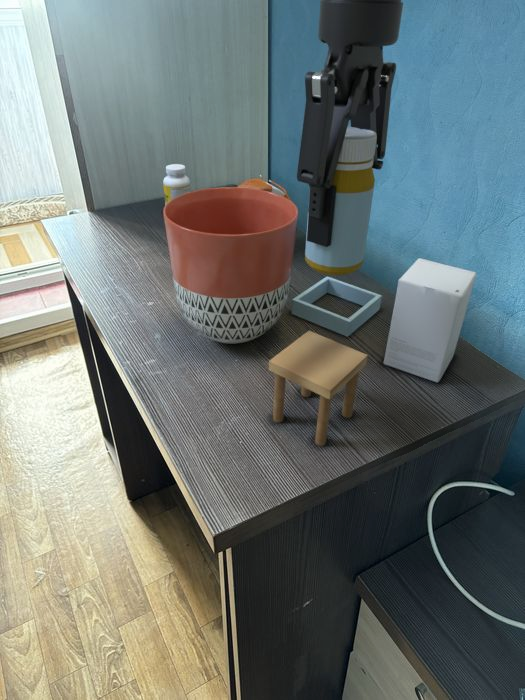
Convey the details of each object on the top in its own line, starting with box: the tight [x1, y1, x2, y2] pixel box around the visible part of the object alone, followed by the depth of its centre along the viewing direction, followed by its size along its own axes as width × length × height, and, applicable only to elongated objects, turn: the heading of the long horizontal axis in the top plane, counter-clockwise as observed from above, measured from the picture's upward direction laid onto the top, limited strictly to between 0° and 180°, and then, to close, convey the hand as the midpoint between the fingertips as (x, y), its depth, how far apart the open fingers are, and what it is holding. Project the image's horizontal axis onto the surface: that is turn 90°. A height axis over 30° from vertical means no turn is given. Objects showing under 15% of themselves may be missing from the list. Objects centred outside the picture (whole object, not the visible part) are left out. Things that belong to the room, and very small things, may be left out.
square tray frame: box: [291, 275, 383, 338], centre depth 93 cm, size 12×12×3 cm
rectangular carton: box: [383, 257, 478, 383], centre depth 78 cm, size 9×9×15 cm
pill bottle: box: [162, 163, 191, 205], centre depth 128 cm, size 6×6×12 cm
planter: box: [162, 186, 299, 345], centre depth 81 cm, size 20×20×21 cm
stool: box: [268, 330, 369, 447], centre depth 68 cm, size 9×9×10 cm
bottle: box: [304, 126, 377, 276], centre depth 58 cm, size 7×7×15 cm
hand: (336, 232), depth 60 cm, fingers closed on bottle, 7 cm apart
